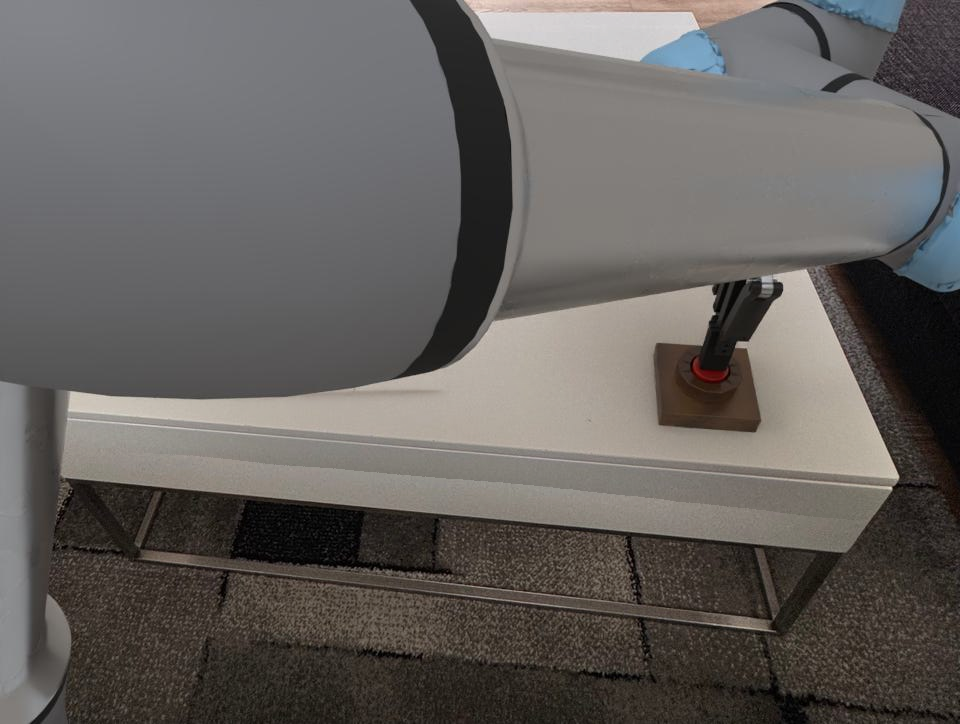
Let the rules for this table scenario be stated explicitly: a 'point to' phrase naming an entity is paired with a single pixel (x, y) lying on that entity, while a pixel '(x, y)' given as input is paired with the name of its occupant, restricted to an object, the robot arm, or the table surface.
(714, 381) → the button
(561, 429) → the table surface
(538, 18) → the table surface
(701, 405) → the button block
